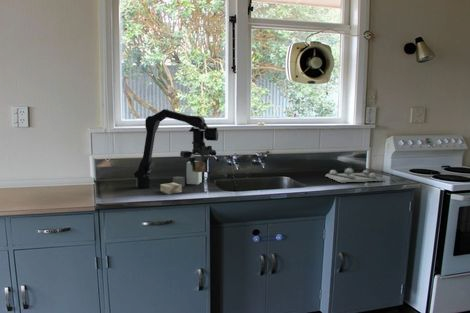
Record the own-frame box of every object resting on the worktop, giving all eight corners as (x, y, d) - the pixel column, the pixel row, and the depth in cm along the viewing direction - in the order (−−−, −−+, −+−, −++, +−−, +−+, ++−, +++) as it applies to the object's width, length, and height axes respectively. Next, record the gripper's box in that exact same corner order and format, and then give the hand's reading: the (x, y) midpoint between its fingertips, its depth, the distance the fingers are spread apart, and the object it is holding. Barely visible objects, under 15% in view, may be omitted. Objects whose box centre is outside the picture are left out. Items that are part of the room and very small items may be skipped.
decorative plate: (340, 184, 237) (340, 172, 236) (324, 177, 258) (325, 166, 257) (385, 182, 244) (386, 171, 243) (366, 176, 265) (367, 165, 264)
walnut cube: (196, 172, 211) (196, 163, 210) (192, 170, 215) (192, 161, 215) (204, 171, 214) (204, 162, 213) (200, 170, 218) (200, 161, 217)
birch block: (168, 194, 207) (168, 187, 206) (160, 191, 213) (160, 184, 212) (181, 192, 212) (181, 185, 211) (173, 189, 218) (173, 182, 217)
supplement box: (198, 184, 230) (198, 162, 228) (186, 184, 232) (186, 162, 230) (202, 182, 237) (202, 161, 235) (190, 181, 239) (190, 160, 237)
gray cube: (176, 187, 223) (176, 178, 222) (172, 185, 227) (172, 177, 226) (184, 186, 225) (184, 177, 225) (181, 184, 230) (181, 176, 229)
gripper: (188, 142, 201) (188, 173, 203) (221, 140, 210) (221, 170, 212) (179, 140, 210) (179, 169, 212) (211, 138, 220) (211, 167, 222)
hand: (198, 169), depth 214 cm, fingers closed on walnut cube, 5 cm apart
